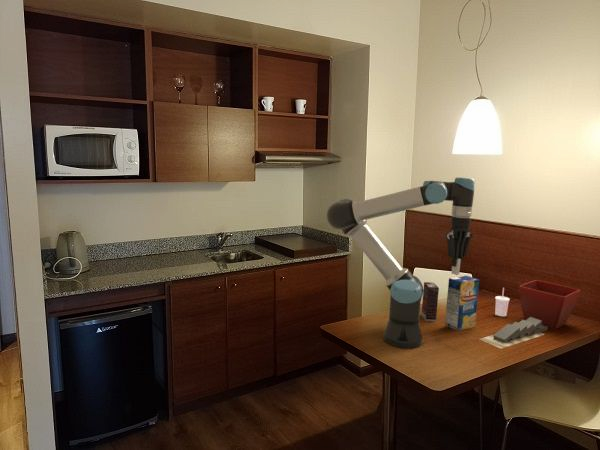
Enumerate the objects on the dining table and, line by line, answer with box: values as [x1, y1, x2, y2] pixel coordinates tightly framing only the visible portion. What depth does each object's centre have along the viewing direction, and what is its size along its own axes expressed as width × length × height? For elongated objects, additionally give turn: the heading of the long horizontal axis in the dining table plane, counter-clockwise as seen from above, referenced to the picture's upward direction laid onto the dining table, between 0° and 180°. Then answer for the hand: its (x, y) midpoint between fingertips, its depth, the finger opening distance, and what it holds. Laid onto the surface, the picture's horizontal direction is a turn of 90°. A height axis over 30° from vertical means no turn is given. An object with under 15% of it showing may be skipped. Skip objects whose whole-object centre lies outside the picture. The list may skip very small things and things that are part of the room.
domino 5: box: [532, 324, 549, 334], centre depth 189 cm, size 2×5×10 cm
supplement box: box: [420, 281, 440, 322], centre depth 200 cm, size 9×5×16 cm, turn 179°
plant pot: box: [519, 279, 581, 330], centre depth 199 cm, size 19×19×17 cm
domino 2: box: [510, 321, 527, 341], centre depth 180 cm, size 2×5×10 cm
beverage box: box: [444, 275, 480, 331], centre depth 189 cm, size 7×11×22 cm, turn 118°
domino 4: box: [525, 317, 542, 335], centre depth 186 cm, size 2×5×10 cm
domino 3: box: [518, 319, 534, 338], centre depth 183 cm, size 2×5×10 cm
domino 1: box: [492, 323, 520, 343], centre depth 178 cm, size 2×5×10 cm
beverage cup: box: [494, 287, 510, 317], centre depth 206 cm, size 6×6×14 cm
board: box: [478, 332, 545, 350], centre depth 180 cm, size 30×10×1 cm, turn 121°
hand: (455, 273), depth 179 cm, fingers closed
